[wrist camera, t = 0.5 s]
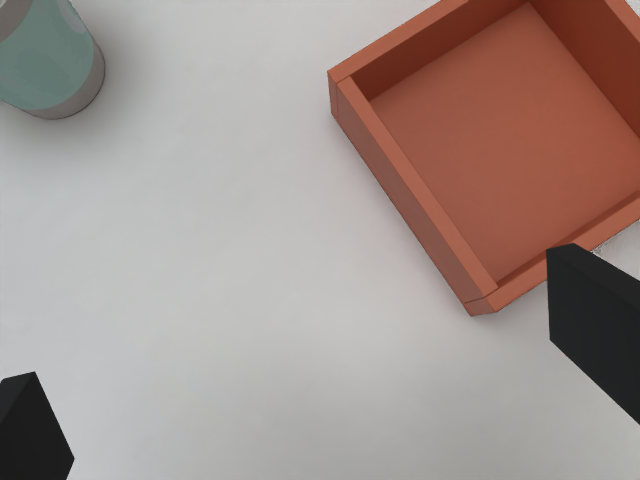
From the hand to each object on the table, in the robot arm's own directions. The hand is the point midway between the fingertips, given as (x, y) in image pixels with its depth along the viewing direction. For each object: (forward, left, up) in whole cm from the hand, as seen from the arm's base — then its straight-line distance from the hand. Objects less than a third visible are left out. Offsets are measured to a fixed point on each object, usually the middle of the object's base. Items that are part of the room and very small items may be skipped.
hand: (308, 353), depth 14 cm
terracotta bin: (+4, -14, -15) cm, 21 cm away
